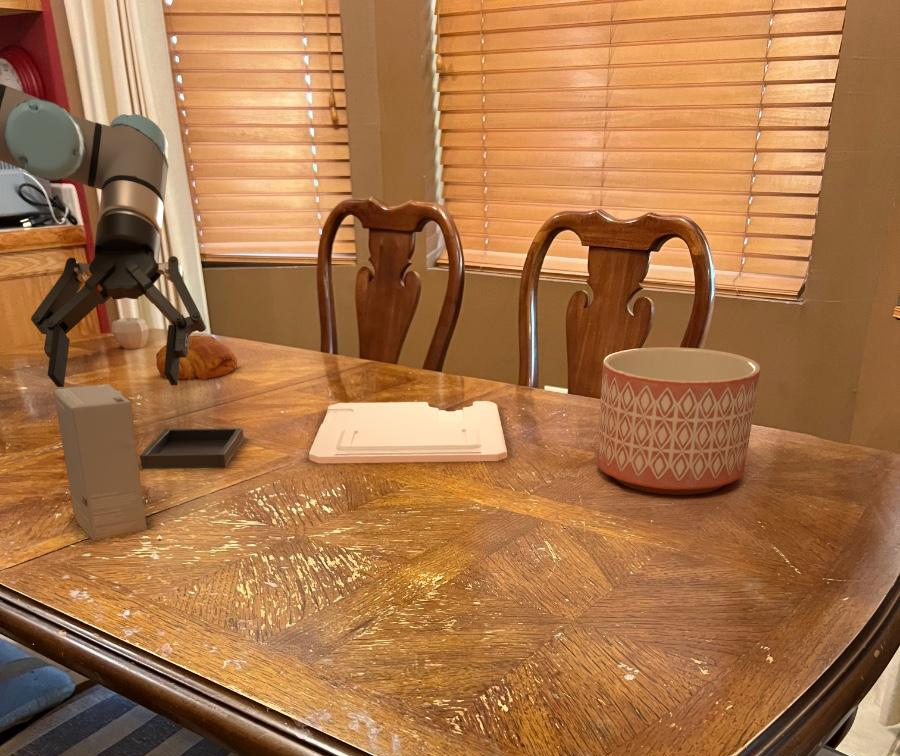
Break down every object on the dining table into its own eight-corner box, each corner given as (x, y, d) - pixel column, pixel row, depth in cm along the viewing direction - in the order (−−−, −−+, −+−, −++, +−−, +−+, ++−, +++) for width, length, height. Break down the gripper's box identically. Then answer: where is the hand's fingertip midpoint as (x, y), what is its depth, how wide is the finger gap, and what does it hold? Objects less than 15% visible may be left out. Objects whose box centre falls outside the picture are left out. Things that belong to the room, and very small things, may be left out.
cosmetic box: (74, 521, 103) (43, 389, 95) (133, 508, 106) (108, 380, 99) (93, 545, 97) (62, 405, 89) (156, 530, 100) (131, 395, 93)
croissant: (148, 387, 168) (135, 347, 164) (204, 361, 179) (194, 322, 174) (200, 395, 161) (188, 353, 157) (255, 366, 172) (246, 326, 168)
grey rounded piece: (137, 343, 196) (132, 313, 193) (159, 347, 192) (154, 316, 189) (107, 349, 191) (101, 318, 188) (129, 353, 187) (123, 322, 184)
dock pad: (142, 470, 119) (139, 455, 118) (167, 442, 130) (165, 428, 129) (225, 469, 119) (223, 454, 118) (244, 441, 130) (242, 427, 129)
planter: (660, 511, 103) (674, 389, 97) (567, 466, 118) (573, 357, 111) (774, 483, 112) (794, 368, 105) (673, 444, 126) (685, 341, 120)
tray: (330, 410, 145) (330, 401, 144) (496, 407, 145) (496, 398, 144) (308, 465, 120) (307, 454, 119) (508, 462, 120) (508, 451, 119)
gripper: (236, 250, 111) (226, 394, 105) (43, 252, 111) (22, 398, 105) (221, 207, 104) (210, 360, 98) (15, 210, 104) (-9, 364, 98)
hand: (113, 380), depth 102 cm, fingers open, 13 cm apart
